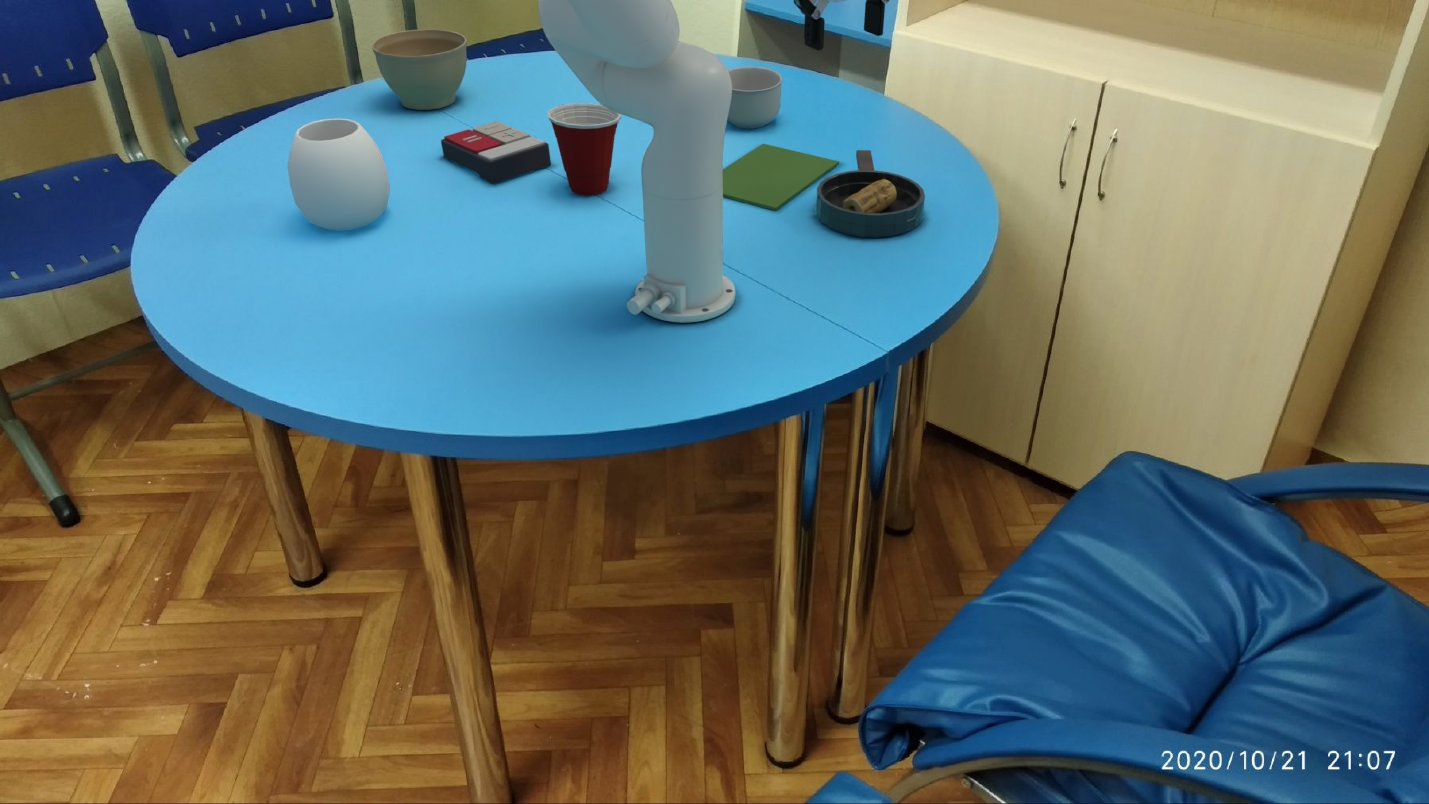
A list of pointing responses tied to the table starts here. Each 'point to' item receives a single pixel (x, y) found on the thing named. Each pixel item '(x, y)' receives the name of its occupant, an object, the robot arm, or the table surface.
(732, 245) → the table surface
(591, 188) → the plastic cup
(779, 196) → the green mat
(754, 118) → the teacup
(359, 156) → the white vase
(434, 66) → the planter bowl
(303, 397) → the table surface
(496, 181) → the calculator
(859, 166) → the pan handle
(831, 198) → the pan
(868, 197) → the carved stone cylinder
